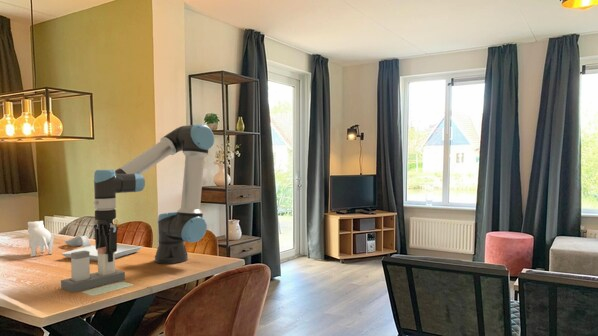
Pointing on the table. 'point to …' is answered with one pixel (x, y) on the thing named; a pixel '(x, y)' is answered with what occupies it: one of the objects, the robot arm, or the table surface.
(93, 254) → the square plate
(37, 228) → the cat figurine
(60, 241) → the table surface
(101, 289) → the green mat
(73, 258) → the grey plug
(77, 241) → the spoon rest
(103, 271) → the cream plug
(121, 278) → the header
